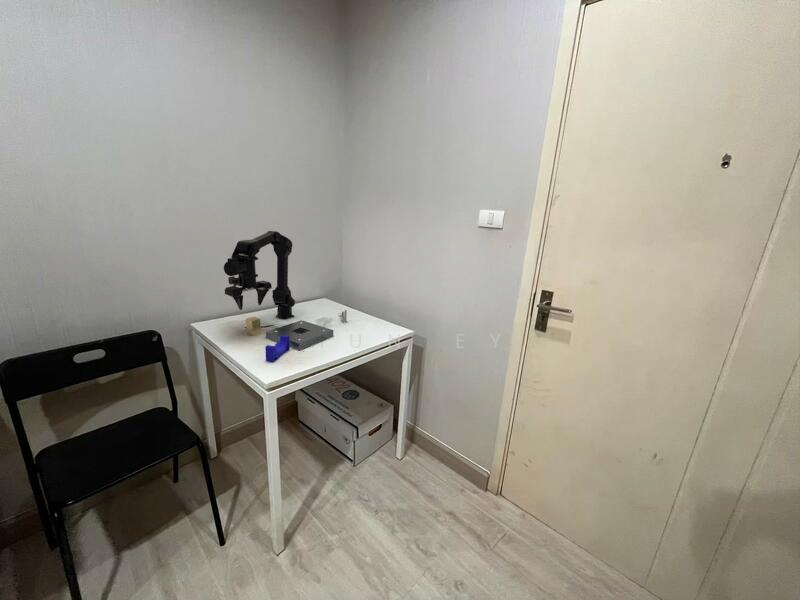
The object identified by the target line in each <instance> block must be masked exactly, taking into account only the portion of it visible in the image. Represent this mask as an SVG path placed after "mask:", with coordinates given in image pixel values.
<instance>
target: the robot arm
mask: <svg viewBox="0 0 800 600" xmlns="http://www.w3.org/2000/svg"><path fill="white" fill-rule="evenodd" d="M268 245H271V246H273V252H274V254H275V255H276V265H277V266H276V287H275V288H274V289H272V288H273V287H272V283H271V282H270V281H268V280H258V281H257V278H258V277H259V274H257V273H256V271H257V270H256V261H258V260H259V258H258V257H257V256H256V255H258V254H259V252H260V251H261V249H262V248H263V247H265V246H268ZM292 248H293V242H292V240H291V239H290V238H288V237H286V236H284V235H282V234H281V233H280V232H279V231H274V230H268V231H267V232H266V233H265V232H264V233H263V234H261V235H259V236H257V237H254V238H252V239H243V240H239V241H238V242H237V243H236V245H235V248H234V250H233V252H232V254H231V256H230V257H231V258H230V257H229V258H227V261H226V262H225V263H224V265H223V271H224V273H225V275H227V276H228V283H229V285H232V286H226V287H225V288H224V295H227V296H229V297H232V299H233V300H234V301H235V303H236V305H237V307H238V309H239V311H243V308H244V307H243V304H244V295H243V292H248V291H253V290H255V291H256V292H257V293H256V294H257V304H258V306H261V305H262V303H263V301H264V299H265V298H266V295H267V294H268V292H269V291H270V290H271V289H272V296H271V297H272V300H273V303H274V306H277V309H276V311H277V312H276V313H277V315H276V316H275V317H276V318H279V319H282V320H287V319H290V318H293V317H295V315H293V308H294V306H295V305H296V300H295V299H294V297H292V291H291V289H290V288H289V286H288V285H289V283H288V278H289V274H288V273H289V256H290V254H291V253H292V250H293V249H292ZM235 276H238V277H235Z"/></svg>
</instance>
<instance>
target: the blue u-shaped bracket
mask: <svg viewBox="0 0 800 600" xmlns="http://www.w3.org/2000/svg"><path fill="white" fill-rule="evenodd" d="M290 348H291V347H290V342H289V336H286V335H281V336H280V342H278V343H277V342H275V345H270V344H267V345H266V346H265V362H268V363H275V362H276V361H278V359H279V358H281V357H282V356H283V355H285V354H286V353H287V352H288V351H290V350H291V349H290Z"/></svg>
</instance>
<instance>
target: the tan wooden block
mask: <svg viewBox="0 0 800 600" xmlns="http://www.w3.org/2000/svg"><path fill="white" fill-rule="evenodd" d="M245 325H246V326H245V327H246V328H245V329H246V335H248V336H250V337H255V336H258V335H261V334H262V333H261V318H260V317H257V316H252V317H248V318H245Z"/></svg>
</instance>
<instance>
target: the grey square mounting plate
mask: <svg viewBox="0 0 800 600" xmlns="http://www.w3.org/2000/svg"><path fill="white" fill-rule="evenodd" d="M281 335H286V336H289V342H290V348H291V349H294V350H297V351H303V350H304V349H306V348H309V347H311V346H314V345H316V344H319V343H321V342H323V341H326V340H328V339H330V338H333V337H334V329H331V328H328V327H325V326H321V325H319V324H314V323H312V322H308V321H306V320H303V319H301V320H298V321H295V322H291V323H288V324H285V325H282V326H278V327H276V328H272V329H269V330H267V331H265V339H267V340H269V341H273V342H274V343H278V342H280V336H281Z"/></svg>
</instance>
